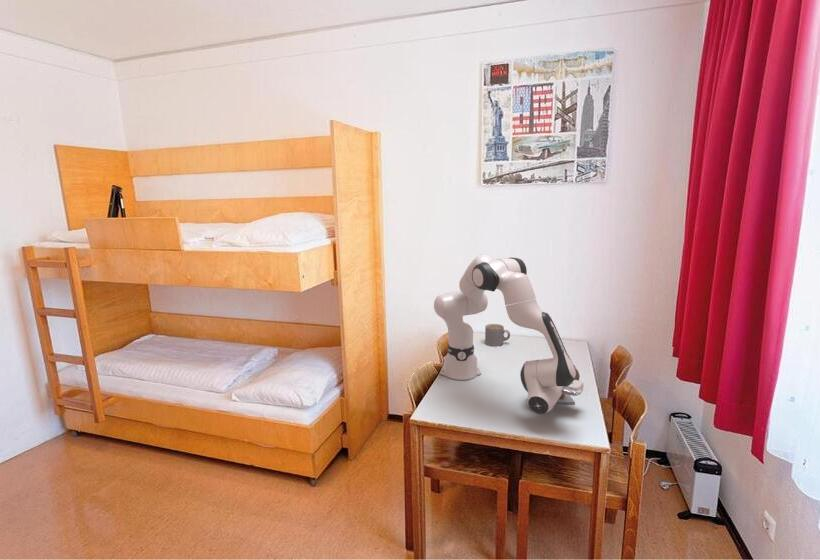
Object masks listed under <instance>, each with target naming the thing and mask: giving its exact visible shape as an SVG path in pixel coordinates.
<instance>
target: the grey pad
mask: <svg viewBox="0 0 820 560" xmlns="http://www.w3.org/2000/svg"><path fill="white" fill-rule="evenodd" d="M557 405H559V406H560V405H566V406H567V405H571V406H572V405H576V402H575V400H574V398H573V397H572V395H568V394H565V396H564V398H563V399H559V400H558V401H557V403H556V404H555V406H557Z"/></svg>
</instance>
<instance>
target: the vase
mask: <svg viewBox="0 0 820 560" xmlns="http://www.w3.org/2000/svg"><path fill="white" fill-rule="evenodd" d="M573 365H574V368H575V371H576V378H575V380H578V381H580V378H581V377H580V372H579V371H578V368H577V367H576V366H575V364H574V363H573Z"/></svg>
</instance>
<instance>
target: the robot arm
mask: <svg viewBox="0 0 820 560" xmlns="http://www.w3.org/2000/svg"><path fill="white" fill-rule="evenodd" d="M527 271H528V270H527V266H526V264H525V262H524V261H523V260H522V259H521V258H519V257H507V258H506V257H505V258H497V259H494V258H493V257H491V256H490V255H487V254H479V255H477V256H475V258H474V259H473V260H472V261H471V262H470V263H469V265H468V266H467V268H466V269H465V271H464V273H463V274H462V277H461V278H460V280H459V281H458V282H459V283H458V284H459V286H458V287H459V290H460V291H454V292H453V291H452V292H447V293H443V294H440V295H438V296H436V297H435V299H434V302H433V309H434V312H435V313H436V315H437V316H438V317H440V318H441V319H442V320H443V321H444V323H445V325H446V327H447V333H448V344H447V354H446V355H445V356H443V358H442V359H443V360H442V361H443V364H442V366H441V369H440V372H439V374H440V375H442V376H445V377H448V378H450V379H453V380H456V381H457V380H459V381H466V380H467V381H468V380H471V379H472V380H473V379H475V378H476V377H477V376H481V375H482V371H481V370H480V369H479V367H478V357H477V356H476V354H475V345H474V329H473V327H472V326H471V325H470V324H468V323H467V322H464V318H463V317H464V316H470V315H471V316H472V315H477V314H479V313H482V312H485V311H486V310H487V308H488V304H489V300H488V296H487V295H486V293H485V291H490V292H495V291H496V290H499V291H500V292H501V293H502V296H503V301H504V304H505V309H506V313H507V316H508V319H509V320H510V321H511V322H512V323H513V324H514V325H517V326H518V327H522V328H525V329H529V330H535V331H537V332H539V333H541V334H542V335H543V336H544V338H545V339H546V342H547V345H548V348H549V349H550V351H551V354H552V356H553V357H550V358H543V359H531V360H526V361H525V362H524V363H523V365H522V367H521V369H520V373H519V374H520V381H521V384H522V386H523V388H524V389H525V391H526V393H527V406H528V408H529V410H531V411H532V412H533V413H535V414H539V415H544V414H548V413H549V412H550V411H552V410H553V409H554V407H555V406H556V405H555V404H556V403H557V401H558V400H559V398H560V397H561V395H562V394H568V395H570V396H571V397H572V396H573V397H577V396H579V395H581V394H582V393H583V391H584V381H582V380H579V381H578V380H575V378H576V371H575V368H574V365H575V364H574V363H573V361H572V359H571V358H570V356H569V354H568V353H567V349H566V347H565V345H564V343H563V340H562V338H561V336H560V334H559V332H558V329H557V327H556V325H555V323H554V321H553V319H552V317H551V316H550V315H549V313H548V312H545V311H543V310H542V309H541V307H540V306H539V304H538V302H537V299H536V296H535V295H536V294H535V291H534V288H533V286H532V283H531V281H530V279H529V277H528V276H527V274H528V273H527ZM573 364H574V365H573Z"/></svg>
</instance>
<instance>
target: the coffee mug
mask: <svg viewBox="0 0 820 560" xmlns="http://www.w3.org/2000/svg"><path fill="white" fill-rule="evenodd" d="M484 327H485V333H484V336H485V337H484V344H485V345H486V346H489V347H492V348H493V347H494V346H495V348H497V346H498V347H502V346H503V345H504V342H505V341H507V340H509V339H510V337H511V332H510V330H508V329H505V327H504V325H502V324H498V323H489V324H486V325H485V326H484ZM505 333H507V336H505Z"/></svg>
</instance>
